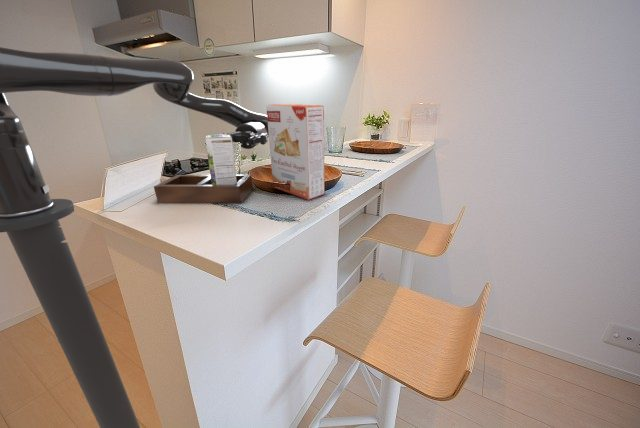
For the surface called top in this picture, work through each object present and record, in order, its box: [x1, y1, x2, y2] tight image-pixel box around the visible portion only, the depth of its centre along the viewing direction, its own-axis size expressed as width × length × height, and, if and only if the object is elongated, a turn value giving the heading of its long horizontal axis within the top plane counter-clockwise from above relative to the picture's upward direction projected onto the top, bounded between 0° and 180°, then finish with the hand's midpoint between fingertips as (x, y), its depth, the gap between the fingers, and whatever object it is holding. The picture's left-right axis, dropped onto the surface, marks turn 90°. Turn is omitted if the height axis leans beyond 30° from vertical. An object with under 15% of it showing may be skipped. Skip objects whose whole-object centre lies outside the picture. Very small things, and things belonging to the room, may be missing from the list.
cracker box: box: [265, 103, 326, 201], centre depth 69 cm, size 14×6×21 cm, turn 45°
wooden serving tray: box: [153, 174, 254, 204], centre depth 70 cm, size 20×11×4 cm, turn 88°
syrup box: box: [205, 133, 237, 185], centre depth 68 cm, size 6×6×14 cm
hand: (234, 142), depth 76 cm, fingers open, 8 cm apart
